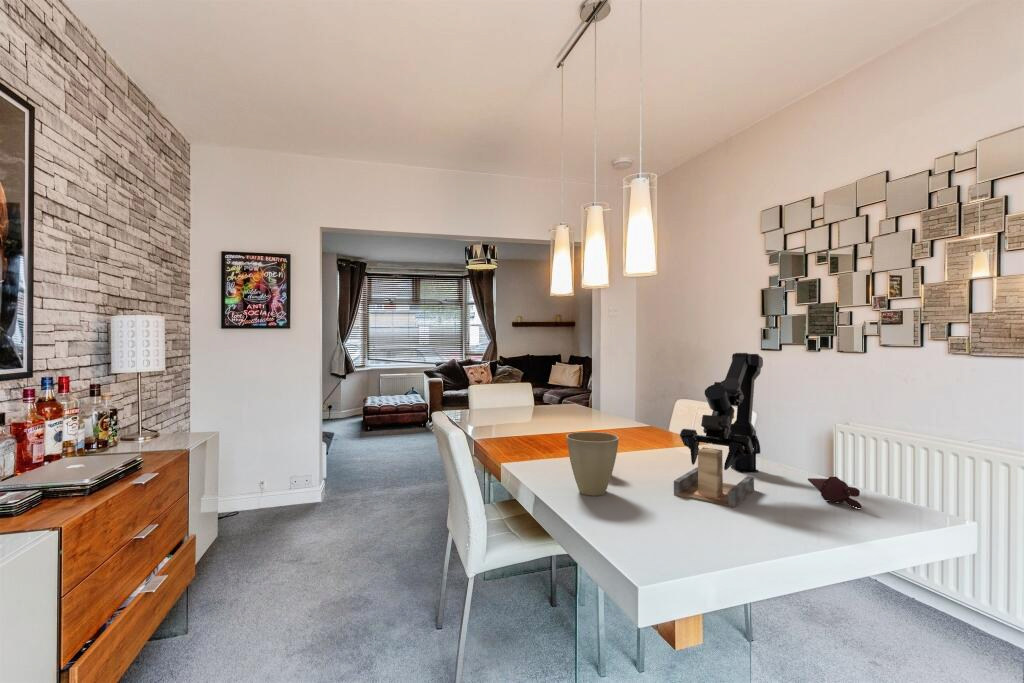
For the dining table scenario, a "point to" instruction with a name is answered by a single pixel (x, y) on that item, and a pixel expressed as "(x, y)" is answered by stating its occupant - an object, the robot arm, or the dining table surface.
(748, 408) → the robot arm
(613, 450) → the plant pot
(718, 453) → the oak block
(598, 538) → the dining table surface
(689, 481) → the bay
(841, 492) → the icecream
